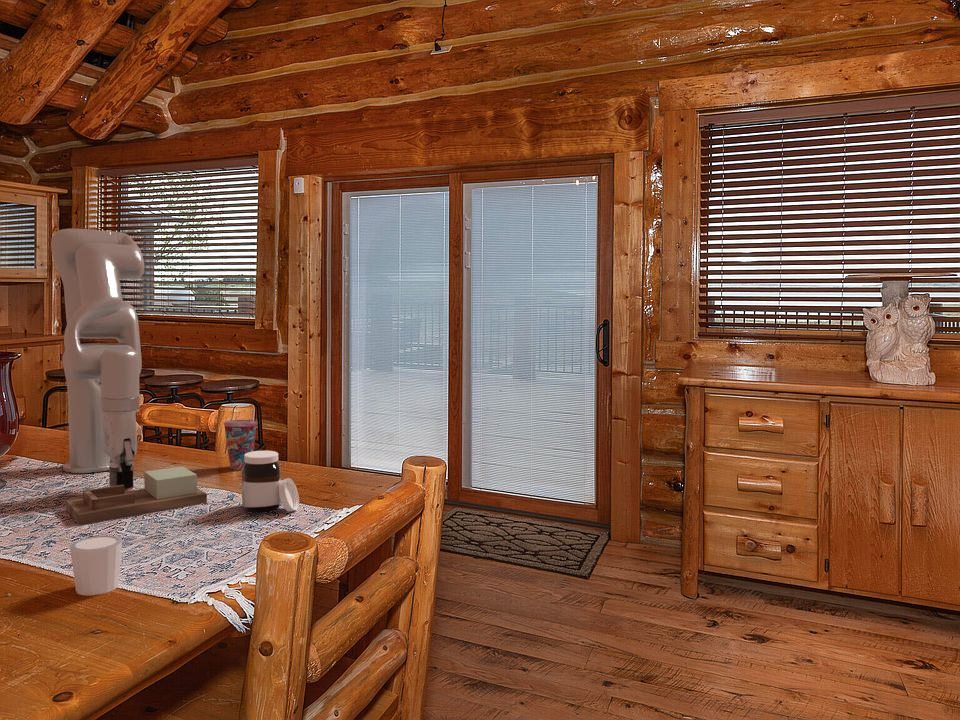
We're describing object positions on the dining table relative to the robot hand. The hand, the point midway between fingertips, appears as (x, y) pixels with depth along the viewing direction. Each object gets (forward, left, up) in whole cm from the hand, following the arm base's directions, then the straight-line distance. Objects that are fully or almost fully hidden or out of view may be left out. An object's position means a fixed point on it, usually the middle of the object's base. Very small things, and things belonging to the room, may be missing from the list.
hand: (121, 484), depth 151 cm
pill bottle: (0, 0, -2) cm, 2 cm away
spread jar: (+31, +21, -2) cm, 37 cm away
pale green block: (+13, +7, 0) cm, 14 cm away
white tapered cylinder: (+52, -16, -2) cm, 54 cm away
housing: (+13, 0, -2) cm, 13 cm away
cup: (-6, +30, -2) cm, 31 cm away
